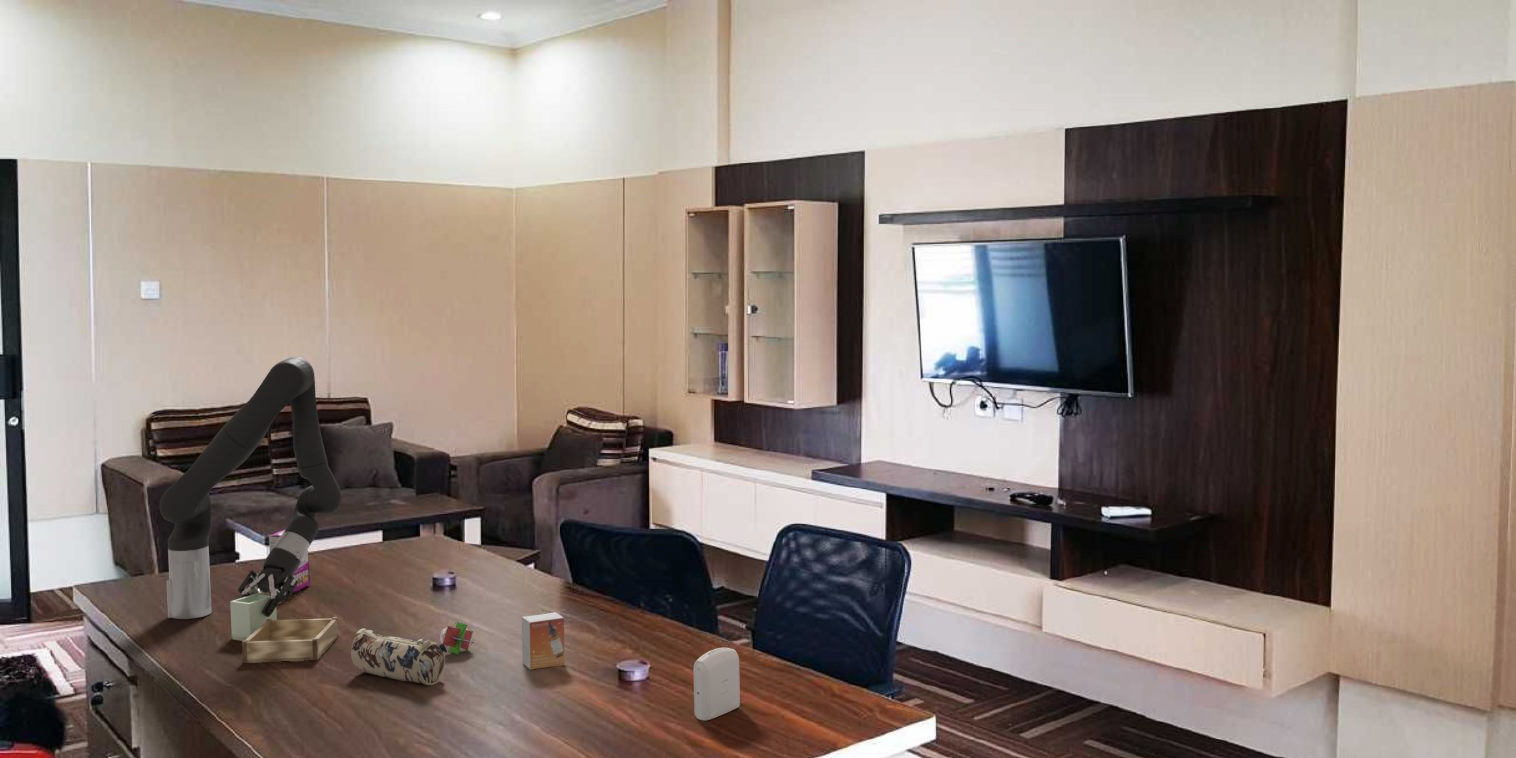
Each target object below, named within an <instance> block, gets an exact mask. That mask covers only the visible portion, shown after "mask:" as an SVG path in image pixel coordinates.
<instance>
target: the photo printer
mask: <svg viewBox="0 0 1516 758" xmlns="http://www.w3.org/2000/svg"><path fill="white" fill-rule="evenodd" d="M740 684H741V683H740V657H739V654H738V652H737V651H736V650H735V649H734V648H731V647H730V648H729V647H718V648H714V649H711V650H709V651H708V652H705V653H704V654H703V655H701V656H700V657H699V658H697V659H696V661H695V662H694V664H693V701H694V702H693V708H694V709H693V710H694V712H693V713H694V716H695V717H696V719H697V720H700V721H704V722H705V721H709V720H713V719H716V718H717V717H719V716H722V715H725V714H727V713H730V712H731V711H733V710H735V709H737V708H739V707H740V705H741V700H740V699H741V696H740V695H741V691H740V689H741V687H740V686H741V685H740Z"/></svg>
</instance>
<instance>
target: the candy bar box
mask: <svg viewBox="0 0 1516 758" xmlns="http://www.w3.org/2000/svg"><path fill="white" fill-rule="evenodd" d="M284 531H285V529H283V530H281V531H278V532H275V533H273V534H270V535H268V542H269V544H268V545H269V552H270V551H271V550H272V548H273V546H274V545H275V543H276V542H277V540H278V539H279V538H280V536H281V535H282V534H283V532H284ZM309 559H310V558H309V550H308V551H307V553H306V555H305V557H304V558H303V560H302V562H301V564H300V565H299V567H298V569H297V570H296V572H295V574H294V575H293V577H294V578H295V579H296V580H297V581H298V583H297V585H296V587H295V589H294V590H293V592H292V593H293V594H295V593H297V592H299V591H301V589H302V590H303V588H304V589H305V587H306V588H308V587H309V586H311V578H310V576H311V575H310V560H309ZM307 586H308V587H307ZM294 592H295V593H294ZM286 593H287V592H285V594H284V595H286Z"/></svg>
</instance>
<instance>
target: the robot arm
mask: <svg viewBox="0 0 1516 758" xmlns="http://www.w3.org/2000/svg"><path fill="white" fill-rule="evenodd" d="M315 379H316V378H315V371H314V368H313V366H312V365H311V363H310V362H309V361H308V360H306V359H305V358H303V357H298V356H293V357H288V358H286V359H283V360H281V361H279V362H277V363H276V364H275V365H274V366H272V368H271V369H269V371H268V373H267V374H266V376H265V377H264V379H263V380H262V382H261V384H260V385H259V387H257V389H256V390H255V392H254V393H253V395H252V396H251V397H250V398H249V400H248V401H246V403H245V404H243V405H242V407H240V408H239V409H238V410H237V411H236V412H235V413H234V414H233V416H232V417H231V418H229V420H228V421H226V423H225V424H224V425H223V426H222V427H221V429H220V430H219V431H218V432H217V434H215V436H214V437H213V439H212V440H211V441H210V442H209V443H208V445H207V446H206V447H205V448H204V450H202V452H201V453H200V454H199V456H198V457H197V458H196V460H195V461H194V462H193V464H192V465H191V466H190V467H189V468H188V470H186V472H184V473H183V474H182V475H181V476H180V477H179V478H178V479H177V480H176V481H175V482H174V483H173V484H172V485H171V486H170V487H168V488H167V489H166V490H165V492H164V493H163V494H162V495H161V498H160V500H159V513H160V515H161V516H162V518H163V519H164V520H166V521H167V522H170V523H173V524H174V527H173V529H172V532H171V534H170V535H169V536H168V538H167V553H168V555H167V556H168V574H169V577H168V578H169V579H167V580H166V582H165V583H166V599H167V601H166V603H167V619H174V620H175V619H176V620H191V619H197V618H202V617H206V616H208V615H210V614H212V592H211V573H210V572H211V571H210V567H211V566H210V553H209V552H210V550H209V548H210V547H209V538H210V536H211V532H212V501H211V496H210V493H209V492H210V491H211V490H212V489H213V488H214V487H215V486H216V485H217V484H218V483H219V482H221V481H222V480H224V479H225V478H226V477H227V476H228V475H229V474H231V473H232V472H234V471H235V470H236V469H238V467H240V466H241V465H243V463H244V462H245V461H246V460H248V458H249V457H250V456H251V455H252V454H253V453H254V451H255V450H256V449H257V448H258V446H259V445H260V444H261V442H262V441H263V439H264V438H265V436H266V435H267V432H268V430H269V428H270V426H271V425H272V423H273V421H274V420H275V418H276V417H277V416H278V415H279V414H280V413H281V411H283V410H284V409H285V407H286V406H288V405H290V409H291V416H292V439H293V440H292V445H293V452H294V456H295V460H296V461H295V462H296V465H297V469H298V473H299V476H300V477H301V478H303V479H305V480H308V481H309V482H310V483H311V485H310V486H308V487H306V488H304V490H302V492H301V493H299V495H298V498H297V500H296V503H295V507H294V510H293V512H292V513H293V514H292V518H291V520H290V521H289V522H288V524H287V526H286V528H285V529H284V530H285V531H284V532H283V534H282V535H281V536H280V538H279V539H278V540H277V542H276V543H275V545H274V546H273V548H272V550H271V551H270V550H269V553H268V554H267V556H266V557H265V560H264V561H263V563H262V566H263V568H262V570H261V571H260V572H259V573H258V572H255V571H254V569H252V570H250V571H249V573H248V574H247V575H246V577H245V578H244V580H243V581H242V583H241V584H240V585H239V587H238V588H237V592H238V593H240V594H241V597H240V598H243V597H247V596H250V595H253V594H257V593H259V594H264V593H265V594H266V593H269V594H270V595H271V598H272V599H269V600H268V602H267V604H266V605H265V607H264V609H263V610H262V614H263V615H264V616H266V617H269V616H270V615H271V614H272V613H273V611H274V609H275V608H276V609H277V606H278V604H281V603H282V602H283V603H287V602H289V599H290V598H291V596H292V592H293V590H294V589H295V587H296V585H297V583H298V581H297V580H296V579H295V578H294V577H293V575H294V574H295V572H296V570H297V569H298V567H299V565H300V564H301V562H302V560H303V558H304V557H305V555H306V553H307V551H308V552H309V548H310V547H311V544H312V543H313V541H314V539H315V538H316V536H317V534H318V533H319V530H320V524H319V523H318V521H317V520H316V518H317V515H318V514H319V515H320V514H323V515H324V514H325V515H326V514H334V513H335V512H337V511H338V510H339V508H340V507H341V504H342V500H343V499H342V491H341V488H340V485H339V484H338V482H337V480H336V478H335V476H334V474H333V472H332V471H331V469H330V467H329V465H328V457H327V455H326V450H325V446H324V442H323V437H322V432H321V427H320V422H319V421H320V420H319V415H318V407H317V397H316V380H315ZM256 586H257V587H256ZM285 592H287V593H286V595H284V594H285Z"/></svg>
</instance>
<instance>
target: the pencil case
mask: <svg viewBox="0 0 1516 758" xmlns="http://www.w3.org/2000/svg"><path fill="white" fill-rule="evenodd" d="M355 636H356V637H355V638H354V640H353V641H352V644H351V647H350V657H351V660H352V663H353V665H354V666H355V667H356V668H358V669H359V670H361V671H363V672H364V673H367V674H370V675H375V676H378V677H384V678H388V679H392V680H393V679H394V680H398V681H402V682H411V683H415V684H416V683H417V684H419V685H420V684H421V685H425V686H433V685H434V686H435V685H436V684H437V683H438V682H439V680H440V677H441V676H442V674H443V670H444V669H445V665H446V658H445V653H448V649H447V648H446V646H445V645H444V644H442V643H441V644H439V643H437V642H435V641H431V639H427V640H425V641H423V638H420V639H417V640H414V639H407V638H403V637H397V636H388V635H381V634H378V633H377V632H376V631H374V630H371V629H367V628H361V629H359V630H358V631H357V632H356V633H355Z"/></svg>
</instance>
